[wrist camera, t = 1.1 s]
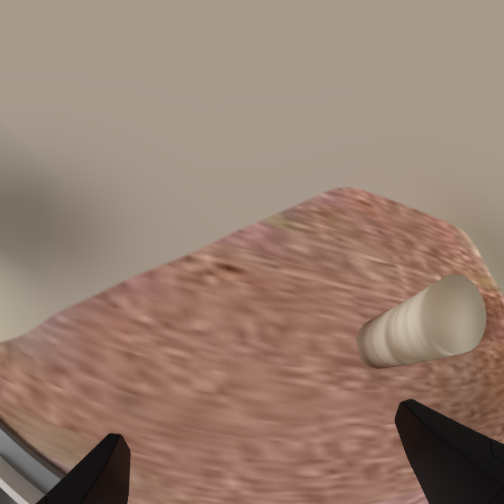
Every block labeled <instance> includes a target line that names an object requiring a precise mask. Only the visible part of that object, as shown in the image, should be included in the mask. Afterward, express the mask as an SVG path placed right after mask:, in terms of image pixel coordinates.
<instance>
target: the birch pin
mask: <svg viewBox="0 0 504 504" xmlns="http://www.w3.org/2000/svg"><path fill="white" fill-rule="evenodd" d="M485 327H486V308H485V304H484V300H483V298H482V295H481V293H480V292H479V290H478V288H477V287H476V286H475V285H474V283H473V282H472V281H470V280H469V279H468V278H466V277H464V276H462V275H458V274H452V275H448V276H445V277H444V278H442V279H441V280H439V281H437V282H436V283H434V284H433V285H431V286H429V287H428V288H426V289H425V290H423V291H421V292H420V293H418V294H416V295H415V296H413V297H411V298H409V299H408V300H406V301H404V302H403V303H401V304H399V305H397V306H395V307H394V308H392V309H390V310H388V311H386V312H385V313H383V314H381V315H379V316H377V317H375V318H374V319H372V320H370V321H368V322H367V323H366V324H364V325H363V327H362V328H361V330H360V332H359V334H358V337H357V350H358V353H359V355H360V357H361V359H362V360H363V361H364V362H365V363H366V364H367V365H368V366H370V367H373V368H377V369H381V368H388V367H395V366H401V365H407V364H413V363H419V362H424V361H429V360H435V359H439V358H444V357H449V356H453V355H458V354H462V353H466V352H469V351H471V350H472V349H474V348H475V347H476V346H477V345H478V344H479V342H480V341H481V339H482V337H483V334H484V331H485Z"/></svg>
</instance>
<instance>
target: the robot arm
mask: <svg viewBox="0 0 504 504" xmlns="http://www.w3.org/2000/svg"><path fill="white" fill-rule="evenodd" d="M395 424H396V427H397V430H398V433H399V436H400V438H401V441H402V444H403V447H404V450H405V453H406V456H407V458H408V460H409V462H410V465H411V467H412V469H413V471H414V473H415V475H416V477H417V479H418V481H419V483H420V485H421V487H422V490H423V492H424V494H425V496H426V498H427V500H428V503H429V504H504V444H502V443H500V442H498V441H495V440H493V439H491V438H489V437H487V436H485V435H483V434H481V433H478V432H476V431H474V430H472V429H470V428H468V427H466V426H464V425H462V424H460V423H458V422H456V421H454V420H452V419H450V418H448V417H446V416H444V415H442V414H440V413H438V412H436V411H434V410H433V409H431V408H429V407H427V406H425V405H423V404H421V403H419V402H417V401H415V400H413V399H408V400H405V401H402V402H401V403H400V404H399V407H398V410H397V413H396V416H395ZM130 457H131V453H130V449H129V447H128V445H127V443H126V441H125V439H124V438H123V436H122V435H121V434H115V433H110V434H108V435H107V436H106V437H105V438H104V439H103V440H102V441H101V442H100V443H99V444H98V445H97V446H96V447H95V448H94V449H93V450H91V451H90V452H89V453H88V454H87V455H86V456H85V457H84V458H83V459H82V460H81V461H80V462H79V463H78V464H77V465H76V466H75V467H74V468H73V469H72V470H71V471H70V472H69V473H68V474H67V475H66V476H65V477H63V478H62V479H61V480H60V481H59V482H58V483H57V484H56V485H55V486H54V487H53V488H52V489H51V490H50V491H49V492H48V493H47V494H46V495H44V496H43V497H42V498H41V499H40V500H39V501H38V502H37V503H35V504H127V502H128V495H129V478H130Z"/></svg>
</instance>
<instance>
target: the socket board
mask: <svg viewBox="0 0 504 504" xmlns="http://www.w3.org/2000/svg"><path fill="white" fill-rule="evenodd" d="M65 476H66V475H64V474H63V473H62V472H60V471H59V470H57V469H56V468H55V467H53V466H52V465H51V464H49V463H48V462H47V461H45V460H44V459H43V458H42V457H40V456H39V455H38V454H37V453H35V452H34V451H33V450H32V449H31V448H29V447H28V446H27V445H26V444H25V443H23V442H22V441H21V440H20V439H19V438H18V437H17V436H16V435H14V434H13V433H12V432H11V431H10V430H9V429H8V428H7V427H6V426H5V425H4V424H3V423H2V422H1V421H0V504H35V503H37V502H38V501H39V500H40V499H41V498H42V497H43V496H44V495H46V494H47V493H48V492H49V491H50V490H51V489H52V488H53V487H54V486H55V485H56V484H57V483H58V482H59V481H60V480H61V479H62V478H63V477H65Z"/></svg>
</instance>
